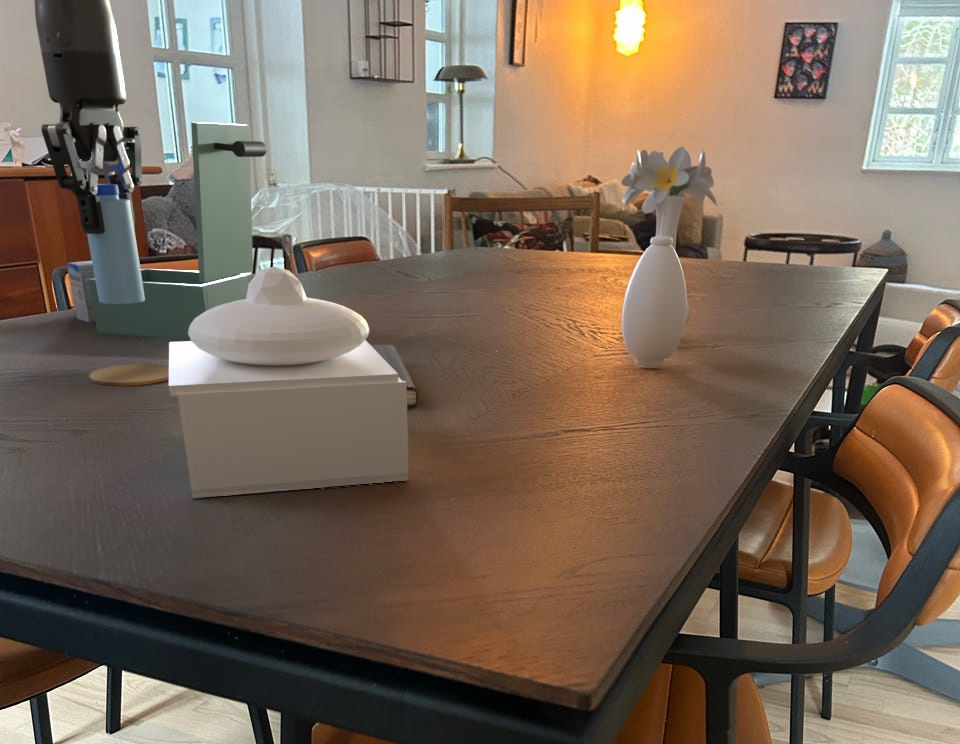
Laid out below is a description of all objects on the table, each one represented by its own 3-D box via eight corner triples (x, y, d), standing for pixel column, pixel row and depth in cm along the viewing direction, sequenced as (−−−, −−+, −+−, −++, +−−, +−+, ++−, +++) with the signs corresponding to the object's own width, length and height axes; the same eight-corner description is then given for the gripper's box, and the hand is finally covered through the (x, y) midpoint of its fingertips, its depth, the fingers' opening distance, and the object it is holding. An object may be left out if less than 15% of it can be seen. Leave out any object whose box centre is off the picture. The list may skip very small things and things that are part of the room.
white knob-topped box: (408, 481, 76) (403, 278, 69) (185, 499, 72) (153, 284, 64) (370, 425, 91) (362, 254, 83) (183, 438, 86) (156, 257, 79)
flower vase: (675, 325, 145) (695, 147, 133) (714, 347, 129) (741, 147, 117) (595, 325, 144) (608, 145, 132) (625, 348, 128) (642, 146, 116)
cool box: (98, 338, 129) (87, 279, 125) (152, 322, 140) (144, 268, 137) (209, 346, 125) (202, 285, 121) (256, 329, 136) (251, 274, 133)
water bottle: (91, 303, 103) (69, 184, 97) (111, 297, 107) (91, 183, 101) (134, 304, 102) (115, 185, 97) (152, 298, 107) (135, 184, 101)
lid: (190, 121, 112) (229, 126, 111) (244, 124, 123) (279, 128, 122) (199, 281, 121) (234, 287, 120) (248, 270, 133) (280, 275, 132)
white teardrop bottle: (635, 358, 122) (649, 210, 113) (689, 365, 118) (707, 213, 109) (607, 367, 116) (619, 213, 108) (663, 376, 112) (680, 216, 104)
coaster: (74, 384, 105) (73, 380, 104) (112, 365, 113) (112, 362, 113) (158, 387, 104) (157, 383, 104) (190, 368, 113) (190, 365, 112)
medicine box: (126, 317, 144) (116, 258, 139) (139, 321, 141) (130, 261, 137) (77, 323, 139) (65, 262, 135) (89, 327, 136) (78, 265, 132)
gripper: (92, 56, 100) (119, 225, 108) (-1, 43, 88) (38, 235, 96) (152, 55, 98) (175, 228, 106) (66, 42, 86) (99, 238, 94)
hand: (110, 230), depth 101 cm, fingers closed on water bottle, 5 cm apart
